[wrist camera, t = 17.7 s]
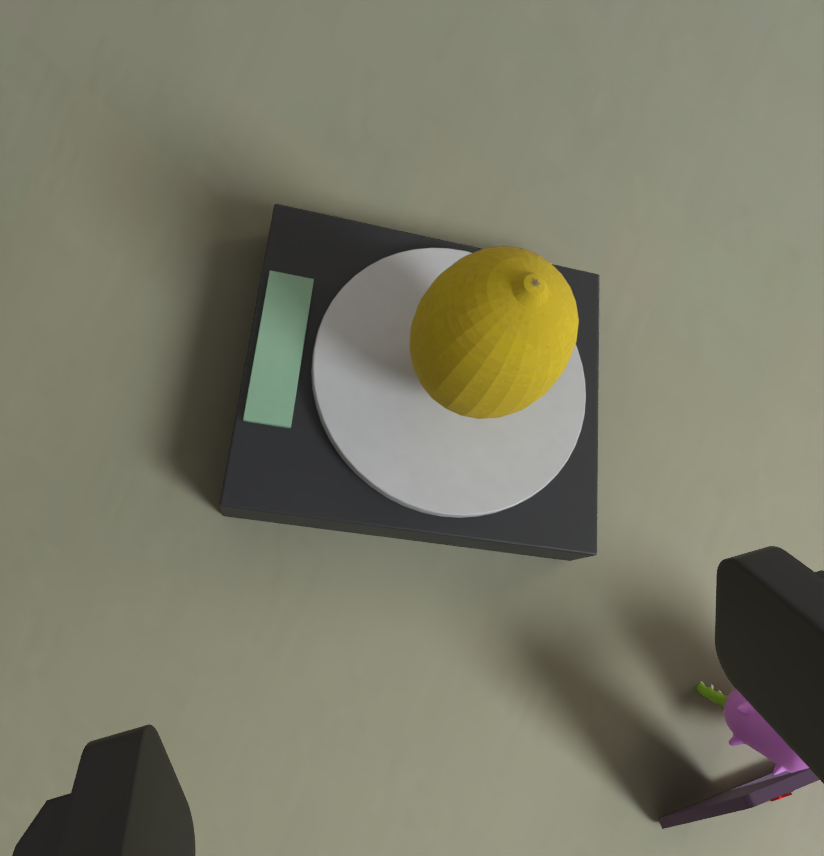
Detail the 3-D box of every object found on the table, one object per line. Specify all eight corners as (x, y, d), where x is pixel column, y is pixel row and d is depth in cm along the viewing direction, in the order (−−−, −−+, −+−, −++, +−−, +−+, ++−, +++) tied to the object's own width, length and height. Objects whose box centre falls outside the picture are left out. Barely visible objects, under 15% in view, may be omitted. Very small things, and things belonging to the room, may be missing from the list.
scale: (221, 516, 27) (218, 502, 24) (272, 233, 31) (275, 194, 28) (571, 561, 30) (604, 553, 27) (576, 297, 34) (606, 267, 31)
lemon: (545, 398, 28) (653, 315, 21) (443, 468, 26) (521, 404, 19) (468, 292, 29) (547, 175, 21) (362, 354, 27) (408, 248, 19)
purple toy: (764, 833, 21) (966, 746, 24) (680, 671, 24) (869, 609, 27) (669, 850, 27) (842, 777, 29) (609, 716, 30) (773, 660, 32)
